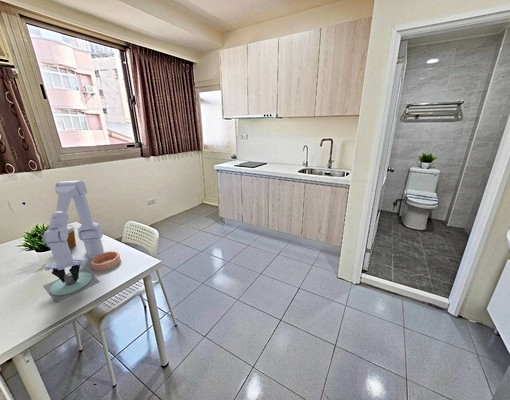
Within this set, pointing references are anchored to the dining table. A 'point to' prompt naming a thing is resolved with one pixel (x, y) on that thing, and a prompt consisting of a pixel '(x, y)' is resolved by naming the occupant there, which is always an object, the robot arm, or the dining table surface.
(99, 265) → the bowl
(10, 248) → the dining table surface
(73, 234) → the disposable coffee cup
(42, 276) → the dining table surface
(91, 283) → the mat
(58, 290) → the lid
